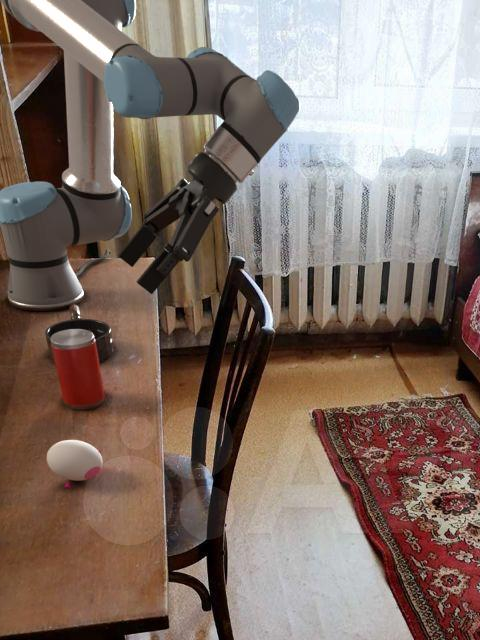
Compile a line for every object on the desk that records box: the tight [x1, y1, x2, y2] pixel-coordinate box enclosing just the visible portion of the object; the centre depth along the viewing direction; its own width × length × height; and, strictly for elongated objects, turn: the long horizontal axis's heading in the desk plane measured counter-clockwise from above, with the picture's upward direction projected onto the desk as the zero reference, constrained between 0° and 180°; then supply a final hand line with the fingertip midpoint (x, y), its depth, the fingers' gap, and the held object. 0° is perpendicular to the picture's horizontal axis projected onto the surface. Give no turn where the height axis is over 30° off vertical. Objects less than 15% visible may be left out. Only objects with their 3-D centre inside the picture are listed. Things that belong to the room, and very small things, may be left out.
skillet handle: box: [69, 304, 83, 320], centre depth 131 cm, size 8×2×2 cm, turn 23°
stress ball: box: [46, 439, 104, 489], centre depth 93 cm, size 8×8×7 cm
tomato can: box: [51, 329, 106, 411], centre depth 108 cm, size 7×7×12 cm
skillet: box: [44, 318, 115, 363], centre depth 125 cm, size 11×11×4 cm
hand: (133, 274), depth 104 cm, fingers open, 13 cm apart
